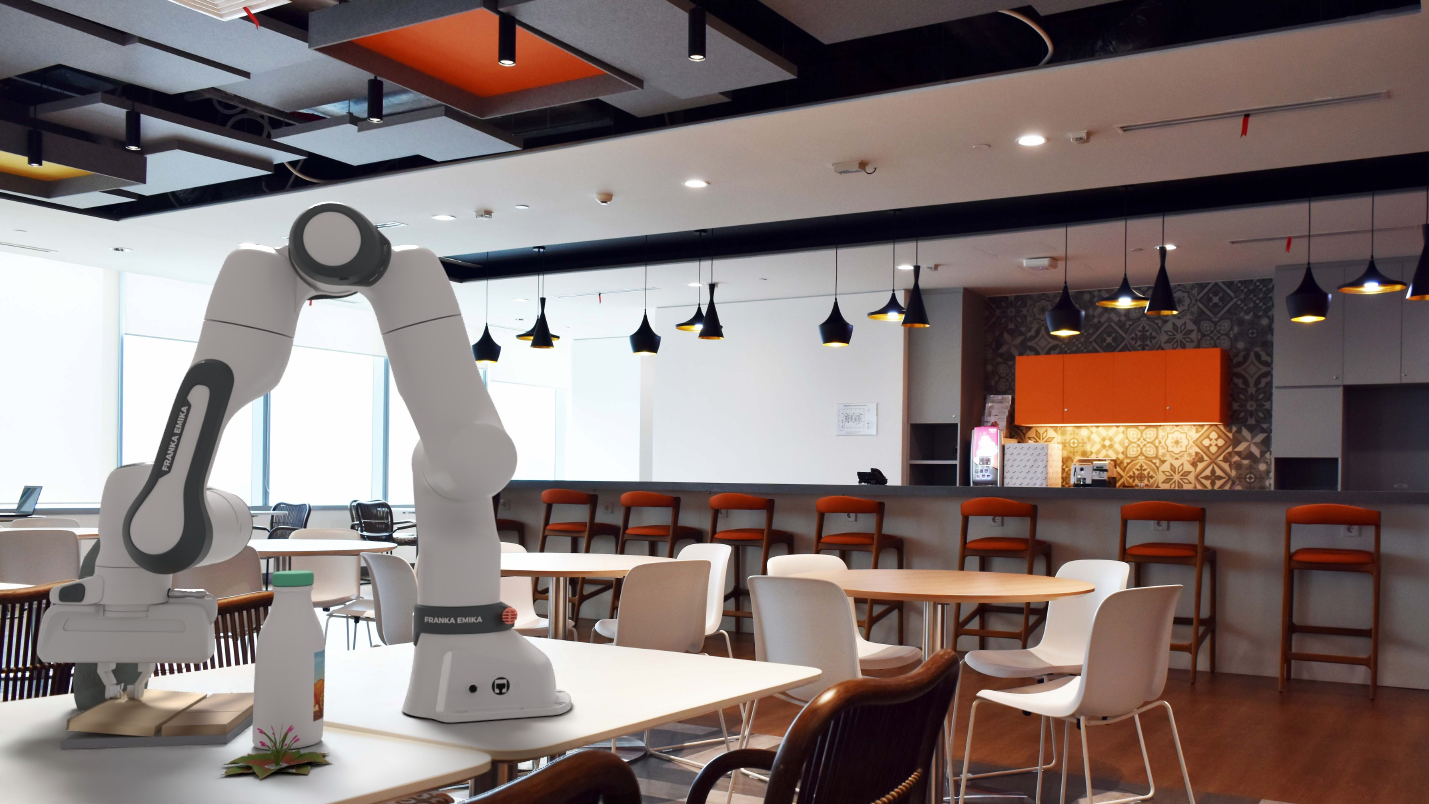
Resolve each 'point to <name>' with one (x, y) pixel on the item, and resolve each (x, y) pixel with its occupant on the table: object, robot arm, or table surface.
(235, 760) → the green plant with flowers
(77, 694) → the vodka
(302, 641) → the milk bottle
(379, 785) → the table surface
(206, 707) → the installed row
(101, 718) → the plank
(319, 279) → the robot arm
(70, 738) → the underlay
